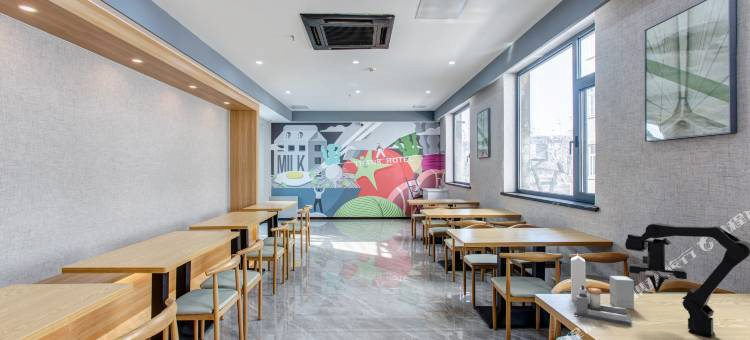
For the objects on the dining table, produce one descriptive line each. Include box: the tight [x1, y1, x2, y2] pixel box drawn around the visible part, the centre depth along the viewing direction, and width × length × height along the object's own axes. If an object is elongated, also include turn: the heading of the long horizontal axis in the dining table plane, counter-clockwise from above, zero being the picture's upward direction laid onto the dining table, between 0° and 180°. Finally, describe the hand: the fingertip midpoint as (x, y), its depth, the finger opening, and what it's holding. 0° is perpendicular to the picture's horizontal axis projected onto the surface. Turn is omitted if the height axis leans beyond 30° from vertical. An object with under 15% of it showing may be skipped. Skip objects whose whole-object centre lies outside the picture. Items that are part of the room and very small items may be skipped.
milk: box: [570, 252, 587, 302], centre depth 179 cm, size 6×6×22 cm
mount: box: [573, 291, 632, 327], centre depth 157 cm, size 20×10×8 cm, turn 57°
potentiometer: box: [579, 285, 588, 296], centre depth 161 cm, size 3×3×4 cm
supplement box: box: [609, 275, 635, 309], centre depth 170 cm, size 7×7×13 cm
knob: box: [587, 287, 602, 311], centre depth 158 cm, size 5×6×9 cm
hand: (656, 292), depth 152 cm, fingers closed
